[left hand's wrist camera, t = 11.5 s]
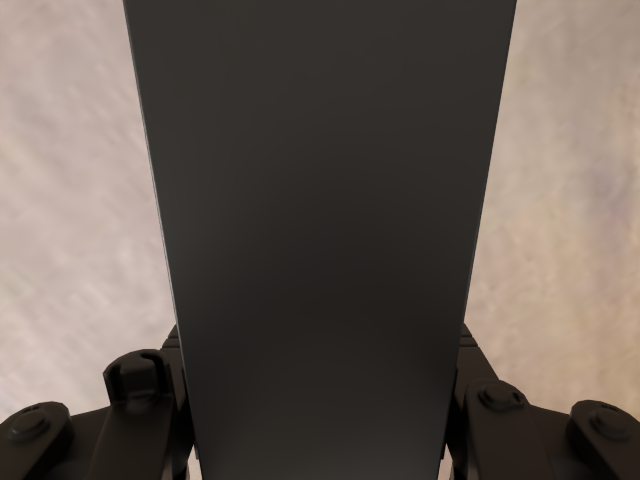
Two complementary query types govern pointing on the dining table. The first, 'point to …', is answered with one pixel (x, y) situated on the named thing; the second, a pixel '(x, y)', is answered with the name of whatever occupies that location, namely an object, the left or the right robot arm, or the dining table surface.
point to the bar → (319, 219)
